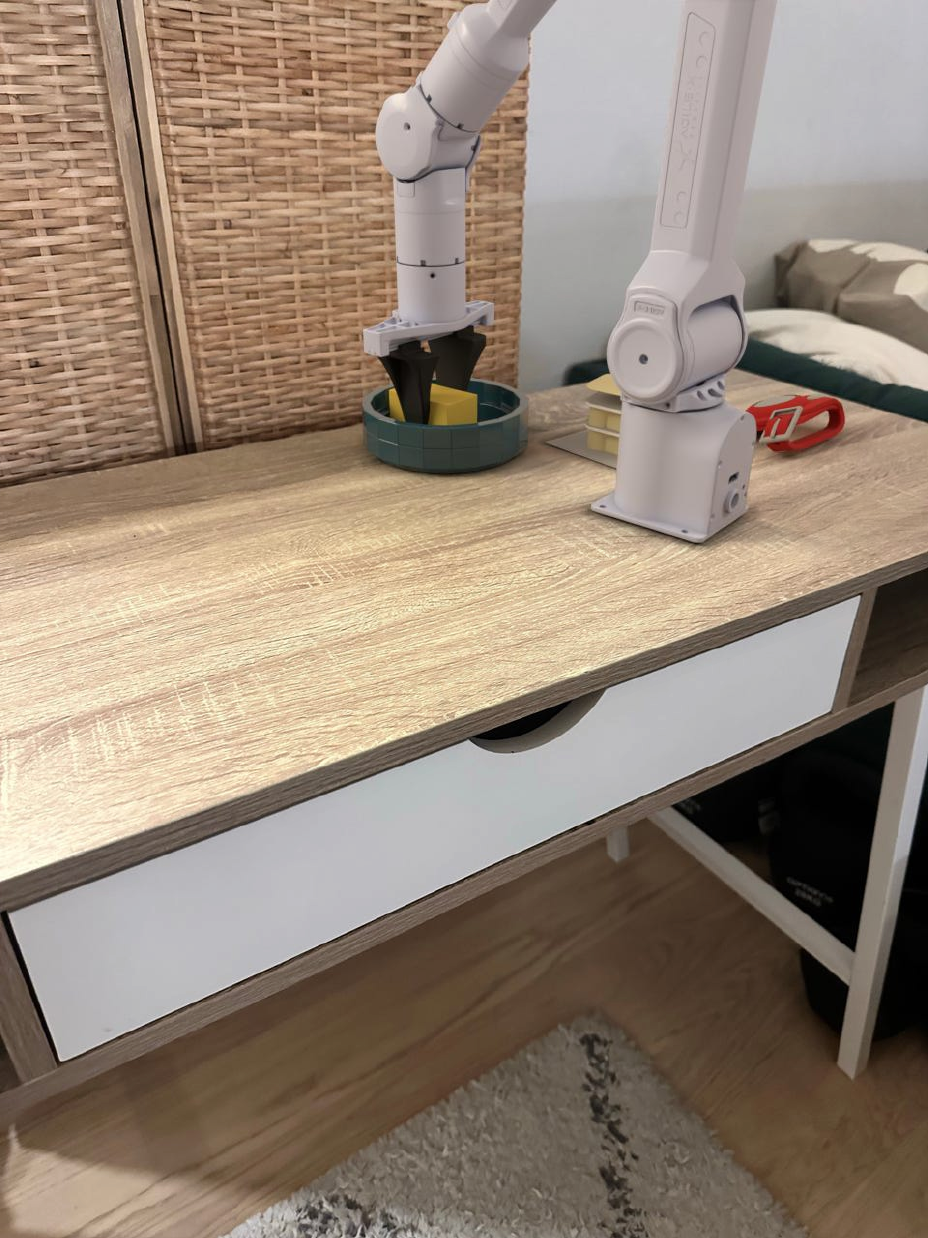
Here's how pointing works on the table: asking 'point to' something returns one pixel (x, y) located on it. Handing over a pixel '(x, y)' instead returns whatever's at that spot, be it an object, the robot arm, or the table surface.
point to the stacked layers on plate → (598, 425)
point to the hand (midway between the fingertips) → (434, 420)
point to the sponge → (442, 406)
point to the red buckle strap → (795, 419)
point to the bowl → (450, 432)
